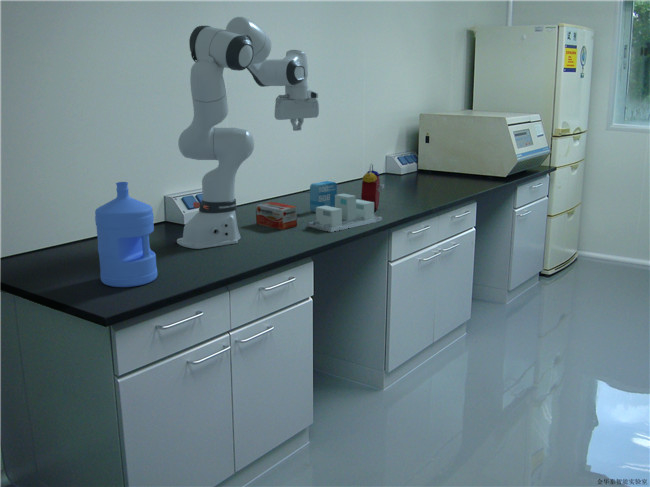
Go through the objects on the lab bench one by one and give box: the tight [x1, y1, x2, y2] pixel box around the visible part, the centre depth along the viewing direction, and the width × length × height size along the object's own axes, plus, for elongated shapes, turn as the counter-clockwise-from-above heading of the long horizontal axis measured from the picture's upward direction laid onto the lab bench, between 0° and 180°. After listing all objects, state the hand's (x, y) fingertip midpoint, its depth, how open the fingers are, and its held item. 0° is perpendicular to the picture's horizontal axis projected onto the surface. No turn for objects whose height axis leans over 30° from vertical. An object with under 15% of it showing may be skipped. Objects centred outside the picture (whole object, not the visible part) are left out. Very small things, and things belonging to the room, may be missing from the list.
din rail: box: [307, 213, 383, 233], centre depth 257 cm, size 28×13×2 cm, turn 134°
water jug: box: [94, 181, 158, 288], centre depth 185 cm, size 16×16×28 cm
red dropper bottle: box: [360, 163, 385, 211], centre depth 280 cm, size 15×9×20 cm, turn 168°
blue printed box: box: [309, 180, 338, 213], centre depth 280 cm, size 12×4×12 cm, turn 136°
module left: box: [315, 205, 342, 227], centre depth 250 cm, size 5×9×6 cm, turn 44°
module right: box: [356, 198, 375, 219], centre depth 262 cm, size 5×9×6 cm, turn 44°
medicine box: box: [255, 201, 298, 231], centre depth 254 cm, size 15×8×8 cm, turn 47°
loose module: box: [335, 193, 357, 220], centre depth 255 cm, size 5×7×9 cm, turn 44°
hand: (297, 130), depth 258 cm, fingers closed
